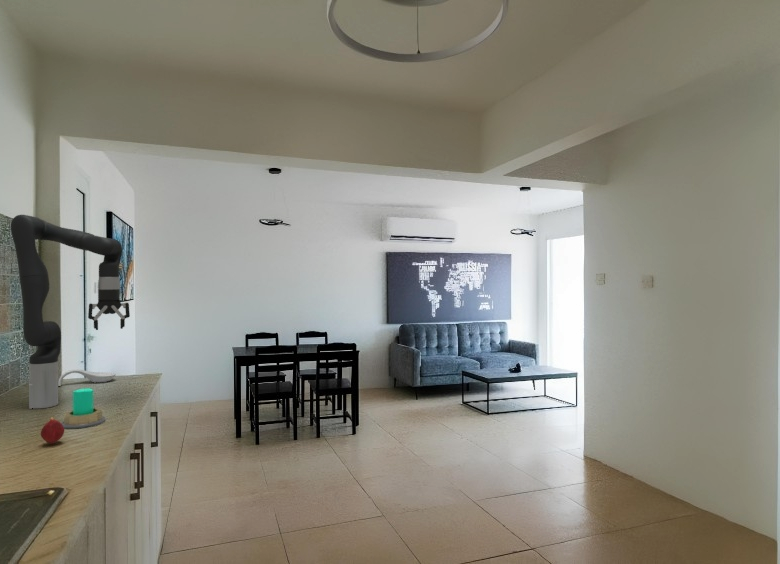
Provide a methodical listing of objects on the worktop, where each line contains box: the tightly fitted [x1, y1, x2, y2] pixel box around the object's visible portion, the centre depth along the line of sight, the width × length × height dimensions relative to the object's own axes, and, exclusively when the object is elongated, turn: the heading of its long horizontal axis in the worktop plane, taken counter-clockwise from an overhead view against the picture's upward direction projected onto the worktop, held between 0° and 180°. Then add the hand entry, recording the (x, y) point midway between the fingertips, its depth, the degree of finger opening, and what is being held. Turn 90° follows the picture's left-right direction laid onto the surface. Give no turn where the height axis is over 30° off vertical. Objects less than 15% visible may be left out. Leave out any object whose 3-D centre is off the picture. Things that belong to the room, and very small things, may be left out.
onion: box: [40, 416, 65, 445], centre depth 148 cm, size 6×6×8 cm
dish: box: [60, 415, 106, 430], centre depth 169 cm, size 13×13×1 cm
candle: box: [72, 388, 94, 415], centre depth 169 cm, size 6×6×12 cm
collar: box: [63, 407, 103, 425], centre depth 169 cm, size 11×11×3 cm
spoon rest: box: [58, 369, 117, 387], centre depth 235 cm, size 24×12×7 cm, turn 127°
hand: (109, 329), depth 194 cm, fingers open, 8 cm apart
